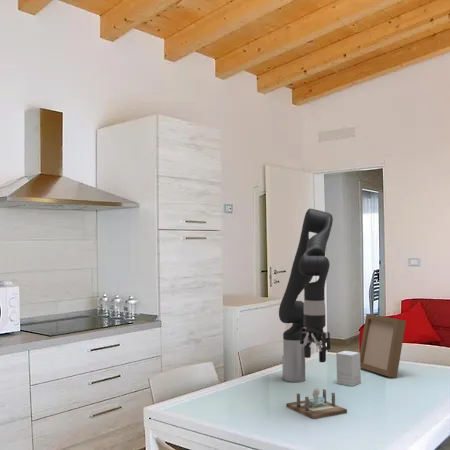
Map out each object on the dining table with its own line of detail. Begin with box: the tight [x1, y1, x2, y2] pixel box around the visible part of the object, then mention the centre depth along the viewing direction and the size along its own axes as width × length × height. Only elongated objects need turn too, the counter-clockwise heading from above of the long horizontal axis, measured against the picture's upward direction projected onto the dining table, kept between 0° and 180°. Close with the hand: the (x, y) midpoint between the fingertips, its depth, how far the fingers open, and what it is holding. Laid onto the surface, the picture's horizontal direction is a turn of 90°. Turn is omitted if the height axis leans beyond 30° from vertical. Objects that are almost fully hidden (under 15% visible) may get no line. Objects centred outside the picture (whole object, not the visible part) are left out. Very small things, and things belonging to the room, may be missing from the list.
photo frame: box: [359, 313, 407, 379], centre depth 247 cm, size 15×22×25 cm
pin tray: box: [285, 389, 348, 420], centre depth 191 cm, size 16×14×6 cm
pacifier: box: [304, 387, 325, 407], centre depth 191 cm, size 7×6×6 cm
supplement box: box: [335, 350, 362, 387], centre depth 227 cm, size 7×7×13 cm
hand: (314, 359), depth 191 cm, fingers open, 8 cm apart
